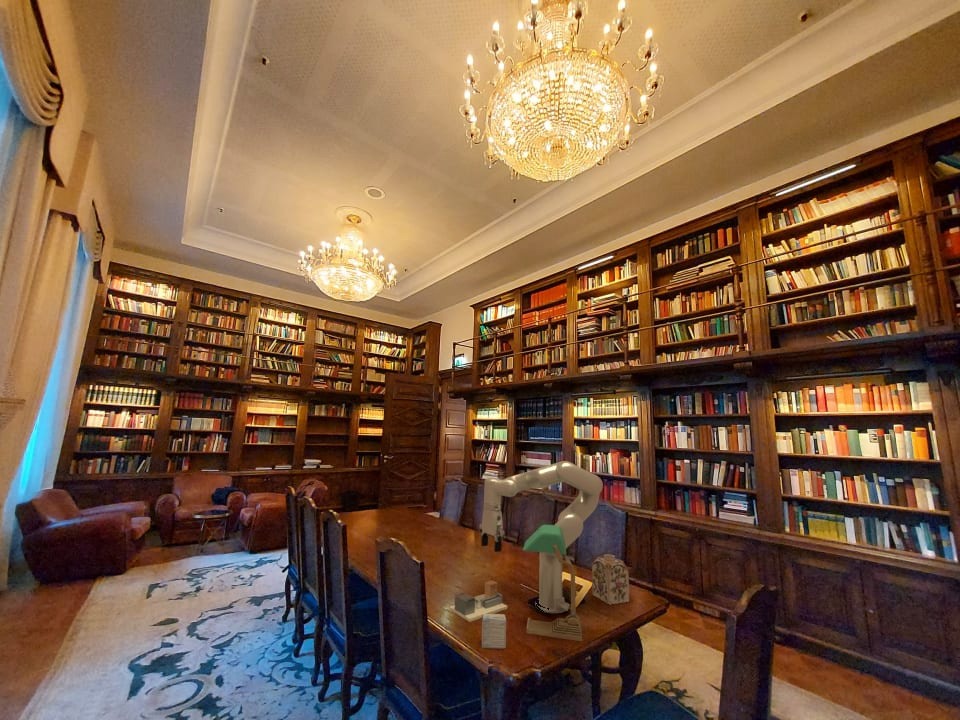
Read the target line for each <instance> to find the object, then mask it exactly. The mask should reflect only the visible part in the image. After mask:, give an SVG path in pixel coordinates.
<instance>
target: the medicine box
mask: <svg viewBox="0 0 960 720" xmlns="http://www.w3.org/2000/svg"><path fill="white" fill-rule="evenodd" d="M481 620H482V623H481V649H507V647H506V643H507V637H506V636H507V635H506V634H507V618H506V615H505V614H501V613H500V614H499V613H494V614H482V618H481Z"/></svg>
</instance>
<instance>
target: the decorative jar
mask: <svg viewBox="0 0 960 720" xmlns="http://www.w3.org/2000/svg"><path fill="white" fill-rule="evenodd" d="M629 577H630V576H629V569H628V567H627V565H626V564H625V562H624V561H623V560H621V559H618V558H616V557H615V555H613V554H610V553H608V554H607V553H606V554H603V556H598V557H596V558H595V560H594V561H593V562H592V563H591V589H592V596H593V597H595V598H597V599H598V600H600V601H602V602H603V601H604V603H605V604H607V605H608V604H609V606H611V605H612V604H613V605H618V604H619V603H620V604H626V602H627V603H630V581H629Z"/></svg>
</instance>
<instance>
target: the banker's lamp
mask: <svg viewBox="0 0 960 720" xmlns="http://www.w3.org/2000/svg"><path fill="white" fill-rule="evenodd" d="M522 551H525V552H526V551H527V552H535V553H536V552H537V553H540V552H545V553H555V554H556V555H557V558H558V561H559V562H560V563H562V565H566V566H567V567H568V570H569V573H570V614H569V615H567V616H565V618H562V617H557V618H556V619H555V620H552V621H544V620H535V619H531V617H528V618H527V623H526V631H525V632H526V634H528V635H535V636H542V637H548V638H557V639H563V640H570V641H577V642H583V633H582V632H583V631H582V625H581V620H580V619H581V618H580V616H579V615H577V614H576V613H577V612H576V610H577V609H576V573H575V568H574V566H573V564H572V561H571V560H570V559H569V557H568V556H567V548H566V544H565V541H564V537H563V534H562V530H561V528H560V527H559V526H557V525H555V524H542V525H541V526H539V527H538V528H537V529H536V531H534V533H533V534H532V535H530V536H529V537H528V538H527V539H526V541H525V542H524V546H523V548H522ZM561 555H562V556H561Z"/></svg>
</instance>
